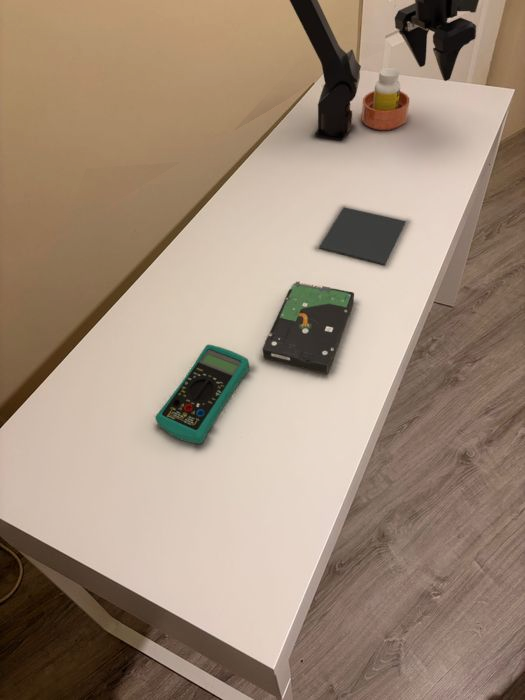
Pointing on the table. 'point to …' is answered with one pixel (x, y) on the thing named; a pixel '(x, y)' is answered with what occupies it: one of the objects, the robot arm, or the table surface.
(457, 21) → the robot arm
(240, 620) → the table surface
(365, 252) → the mat
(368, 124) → the dish
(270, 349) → the disk drive
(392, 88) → the supplement bottle
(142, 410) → the table surface
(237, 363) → the digital multimeter
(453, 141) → the table surface
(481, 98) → the table surface
